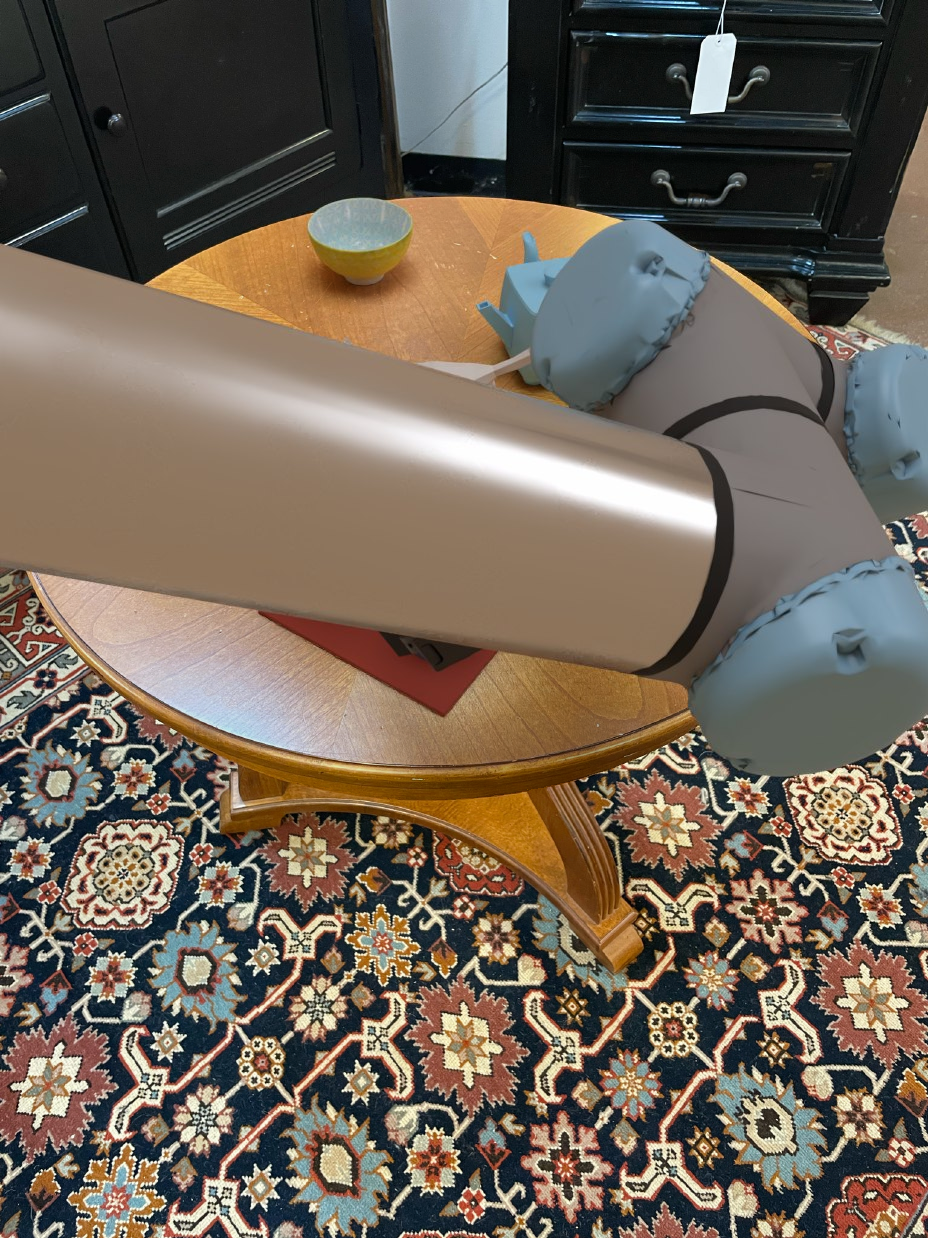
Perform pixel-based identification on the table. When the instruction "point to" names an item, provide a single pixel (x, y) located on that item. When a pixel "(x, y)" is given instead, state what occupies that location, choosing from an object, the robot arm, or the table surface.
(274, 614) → the red mat
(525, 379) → the teapot
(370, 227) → the bowl
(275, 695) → the table surface
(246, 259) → the table surface
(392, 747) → the table surface
